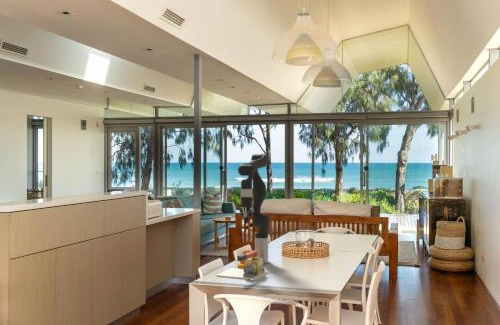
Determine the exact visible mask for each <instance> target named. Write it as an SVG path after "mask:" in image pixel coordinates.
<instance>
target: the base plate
mask: <svg viewBox="0 0 500 325" xmlns="http://www.w3.org/2000/svg"><path fill="white" fill-rule="evenodd" d="M243 273H244V271H243V269H241V268H238V267H237V268H236V267H235V268H233V267H231V268H228V269H226V270H224V271H222V272H220V273H218V274H216V277H217V276H222V277H221V278H227V277H232V278H231V279H238V278H242V279H241V280H248V279H253V280H252V281H258V280H259V279H261V278H262V277H264V276H266V275H268V274H269V273H270V271H267V270H264V271H263V273H262V274H260V275H258V276H254V277H253V278H250V277H243ZM265 274H266V275H265ZM260 277H261V278H260Z"/></svg>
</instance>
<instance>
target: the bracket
mask: <svg viewBox="0 0 500 325" xmlns="http://www.w3.org/2000/svg"><path fill="white" fill-rule="evenodd" d="M251 251H252V250H251V249H249V248H246V249H245V250H244V251H242V254H247V253H249V252H251ZM242 254H241V255H242ZM244 267H245V260H244V261H239V263H237V269H244Z"/></svg>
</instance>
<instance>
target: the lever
mask: <svg viewBox="0 0 500 325" xmlns="http://www.w3.org/2000/svg"><path fill="white" fill-rule="evenodd" d="M254 256H258V251H255V250H251V252H249V253H247V252H246V254H240V255H237V259H236V261H237V262H240V261H244V260H246V259H249V258H251V257H254Z"/></svg>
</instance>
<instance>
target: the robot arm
mask: <svg viewBox="0 0 500 325" xmlns="http://www.w3.org/2000/svg"><path fill="white" fill-rule="evenodd" d="M268 164H269V157H268V155H267V154H265V153H253V154H252V155H251V159H250V161H248V162H247V163H242V164H240V165H239V166H238V168H237V171H238V172H237V173H238V174H239V175H240V176H242V177H243V176H244V177H245V176H246V177H247V178H245V179H241V181H240V204H241V206H240V207H239V208H238V211H239V213H240V215H241V216H242V217H243V220H244V224H249V223H250V217H252V218H251V219H252V221H251V222H252V225H253V227H255V228H259V229H260V230H259V231H257V232H256V233H254V251H258V256H257V258H263V261H264V264H267V263H269V234H270V221H271V220H270V217H269V215H268V214H263V213H261V208H262V205H263V203H264V201H265V199H266V198H267V197H266V196H267V185H266V184H265V181H264V180H263V178H262V177H261V175H260V173H259V169H262V168H265V167H267V166H268Z"/></svg>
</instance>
